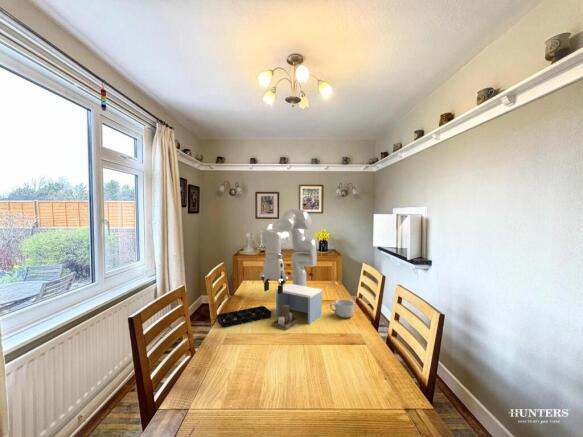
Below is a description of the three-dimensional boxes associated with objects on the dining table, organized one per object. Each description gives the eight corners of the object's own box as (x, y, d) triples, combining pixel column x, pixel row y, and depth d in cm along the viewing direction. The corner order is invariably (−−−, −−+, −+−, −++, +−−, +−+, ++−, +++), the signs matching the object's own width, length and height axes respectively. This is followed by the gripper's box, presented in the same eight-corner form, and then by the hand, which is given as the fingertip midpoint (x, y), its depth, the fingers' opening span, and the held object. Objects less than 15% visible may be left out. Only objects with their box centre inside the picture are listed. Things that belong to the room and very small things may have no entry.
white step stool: (289, 307, 164) (289, 283, 163) (321, 315, 152) (321, 289, 152) (276, 315, 152) (276, 289, 151) (309, 324, 140) (310, 295, 140)
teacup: (352, 312, 156) (353, 299, 156) (355, 320, 146) (355, 305, 146) (329, 311, 158) (329, 298, 158) (330, 319, 147) (330, 304, 147)
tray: (284, 318, 148) (284, 301, 148) (298, 322, 143) (298, 304, 143) (271, 326, 138) (271, 307, 137) (286, 330, 133) (286, 311, 133)
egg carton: (212, 322, 143) (212, 315, 143) (257, 308, 163) (257, 302, 163) (228, 333, 130) (228, 325, 130) (275, 317, 150) (275, 310, 150)
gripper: (292, 256, 129) (292, 292, 129) (264, 253, 138) (264, 287, 138) (283, 259, 122) (283, 297, 123) (254, 255, 131) (254, 290, 132)
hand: (273, 291), depth 130 cm, fingers open, 7 cm apart
